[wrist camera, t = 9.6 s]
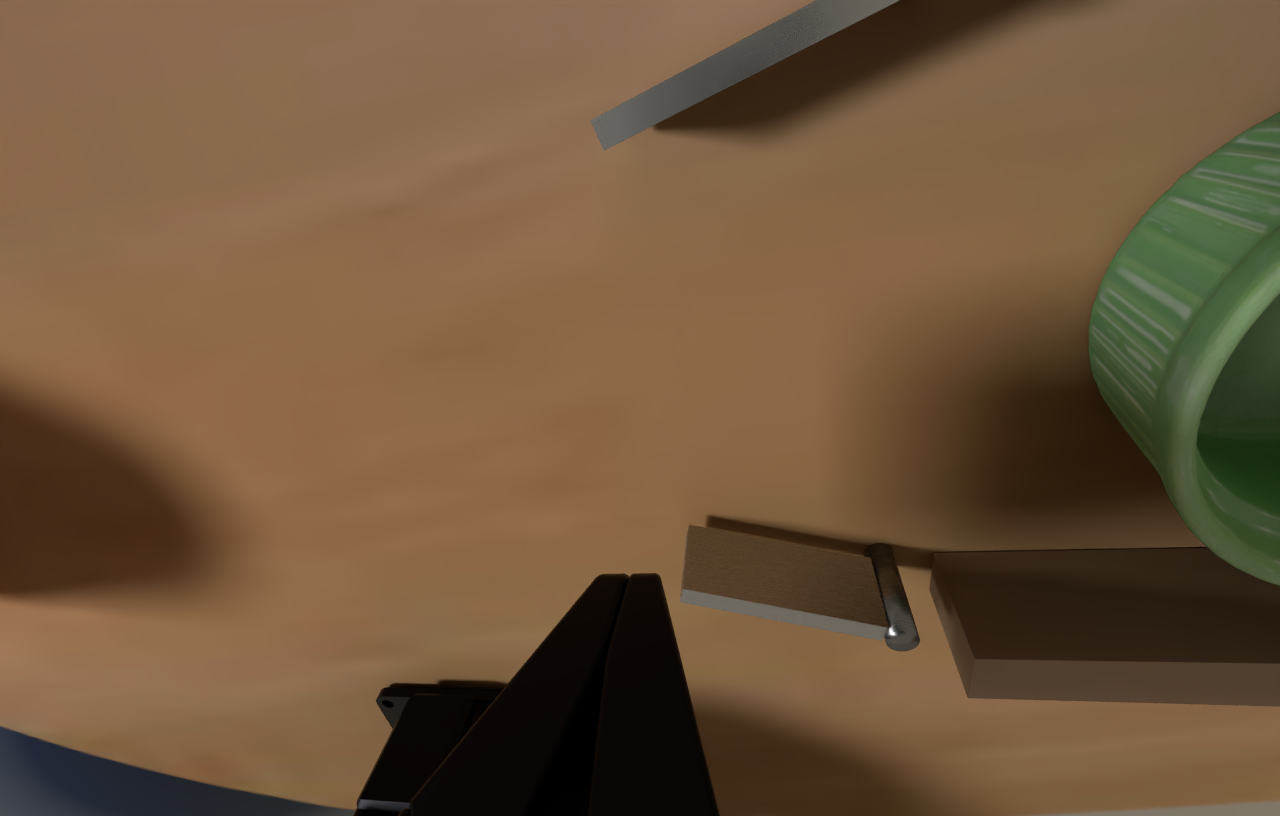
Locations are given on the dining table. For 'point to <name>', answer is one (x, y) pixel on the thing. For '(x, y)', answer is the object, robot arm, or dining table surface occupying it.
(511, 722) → the robot arm
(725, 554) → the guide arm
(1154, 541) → the dining table surface
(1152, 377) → the ramekin
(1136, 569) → the walnut dock
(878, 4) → the bar
